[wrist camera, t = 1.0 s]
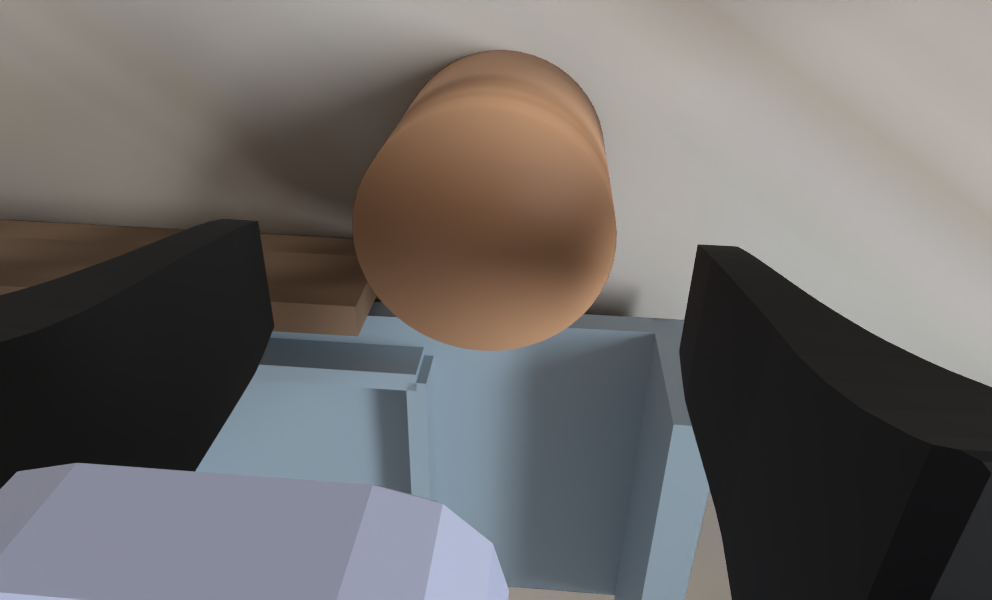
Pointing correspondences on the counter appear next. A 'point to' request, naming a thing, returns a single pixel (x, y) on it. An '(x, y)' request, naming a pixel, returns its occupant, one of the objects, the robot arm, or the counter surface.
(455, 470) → the tray
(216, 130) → the counter surface
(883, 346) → the robot arm
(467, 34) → the counter surface
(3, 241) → the caddy
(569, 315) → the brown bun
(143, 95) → the counter surface
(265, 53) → the counter surface
